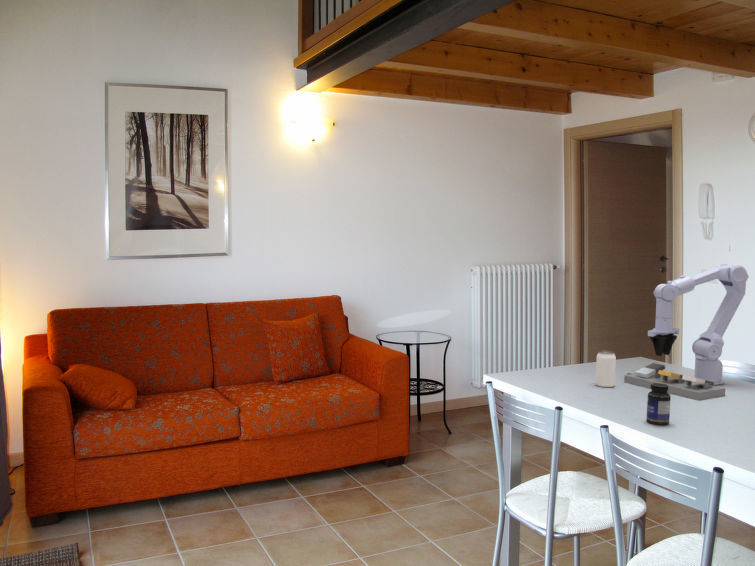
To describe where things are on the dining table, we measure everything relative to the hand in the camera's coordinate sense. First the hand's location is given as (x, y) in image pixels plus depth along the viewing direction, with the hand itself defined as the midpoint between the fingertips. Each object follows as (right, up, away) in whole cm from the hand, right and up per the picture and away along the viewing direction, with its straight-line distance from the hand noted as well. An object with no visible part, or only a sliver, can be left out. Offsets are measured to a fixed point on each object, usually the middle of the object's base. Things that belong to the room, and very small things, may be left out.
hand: (662, 355), depth 247 cm
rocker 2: (+1, -7, -7) cm, 10 cm away
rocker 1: (-4, -7, +1) cm, 8 cm away
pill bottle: (-22, -14, -50) cm, 56 cm away
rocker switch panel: (0, -11, -5) cm, 12 cm away
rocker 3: (+6, -8, -15) cm, 18 cm away
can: (-22, -11, -4) cm, 25 cm away
